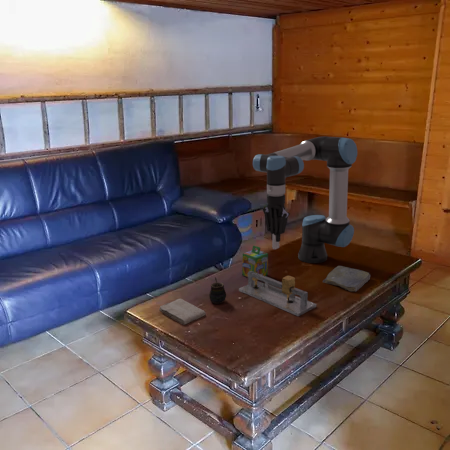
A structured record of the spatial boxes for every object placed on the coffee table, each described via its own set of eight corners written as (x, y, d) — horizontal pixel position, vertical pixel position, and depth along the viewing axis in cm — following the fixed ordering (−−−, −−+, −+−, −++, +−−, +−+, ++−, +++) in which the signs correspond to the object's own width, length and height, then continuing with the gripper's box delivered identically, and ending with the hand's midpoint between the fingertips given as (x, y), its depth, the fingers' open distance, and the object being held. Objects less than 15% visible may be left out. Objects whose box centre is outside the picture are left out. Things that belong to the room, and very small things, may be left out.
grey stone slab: (319, 286, 220) (354, 294, 209) (319, 277, 218) (354, 284, 208) (338, 274, 235) (371, 280, 224) (338, 265, 233) (372, 271, 223)
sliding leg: (287, 297, 203) (288, 275, 200) (294, 299, 200) (295, 277, 197) (281, 300, 200) (282, 278, 197) (288, 302, 198) (288, 280, 195)
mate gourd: (213, 306, 199) (212, 285, 196) (206, 299, 206) (205, 278, 203) (228, 303, 202) (228, 281, 199) (221, 296, 208) (221, 275, 205)
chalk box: (241, 275, 230) (241, 247, 226) (254, 270, 236) (254, 242, 232) (255, 280, 224) (256, 251, 219) (268, 275, 230) (268, 246, 225)
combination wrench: (262, 281, 214) (297, 294, 200) (264, 280, 215) (299, 293, 201) (262, 289, 215) (297, 302, 201) (264, 288, 216) (299, 301, 202)
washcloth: (179, 302, 204) (179, 295, 204) (207, 316, 192) (206, 309, 191) (157, 311, 197) (156, 305, 196) (184, 326, 184) (184, 319, 183)
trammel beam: (257, 283, 221) (257, 267, 219) (316, 306, 197) (317, 289, 195) (238, 290, 213) (238, 274, 211) (298, 316, 189) (298, 298, 187)
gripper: (258, 193, 194) (258, 246, 202) (282, 198, 185) (281, 254, 193) (270, 190, 199) (270, 242, 206) (294, 195, 190) (293, 249, 197)
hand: (275, 248), depth 200 cm, fingers closed
